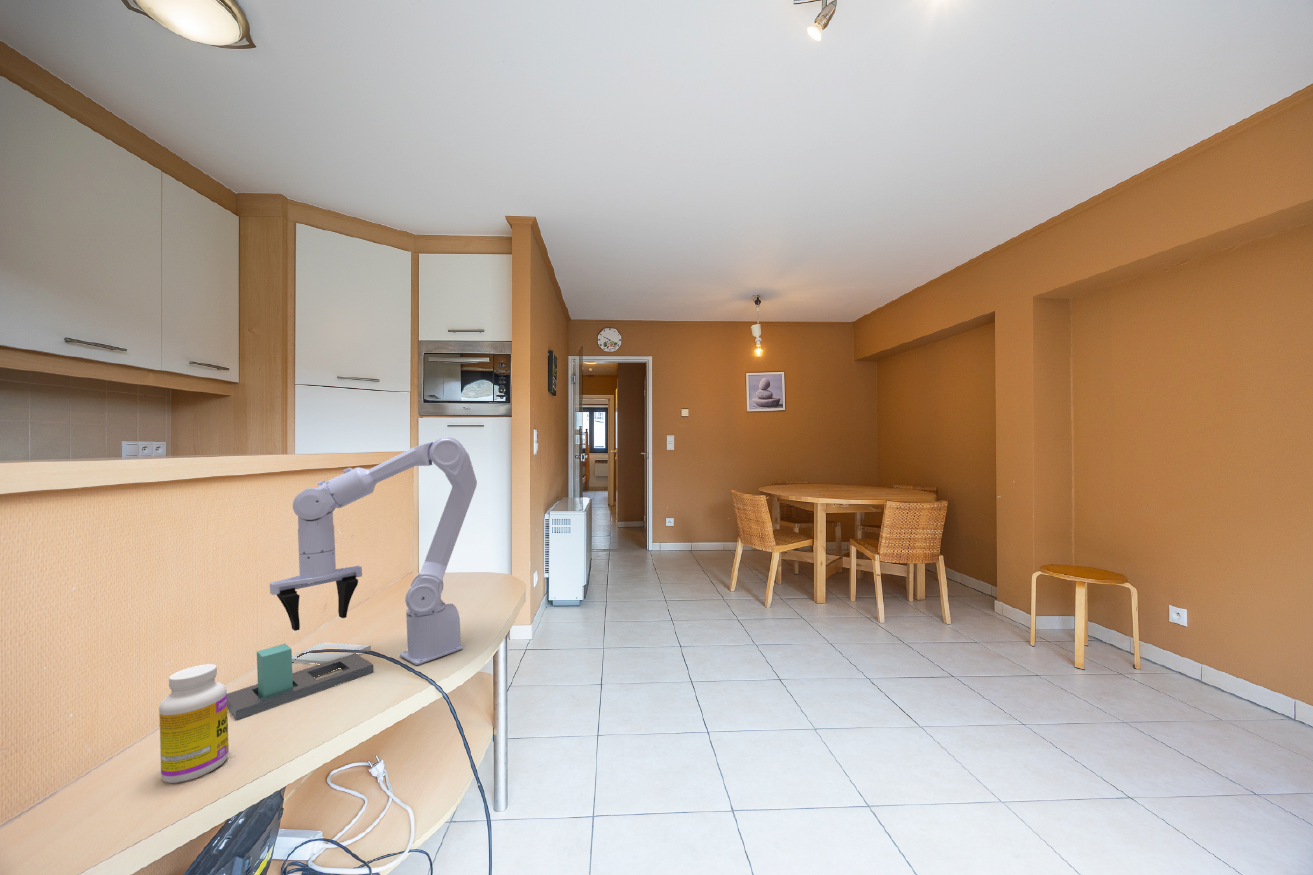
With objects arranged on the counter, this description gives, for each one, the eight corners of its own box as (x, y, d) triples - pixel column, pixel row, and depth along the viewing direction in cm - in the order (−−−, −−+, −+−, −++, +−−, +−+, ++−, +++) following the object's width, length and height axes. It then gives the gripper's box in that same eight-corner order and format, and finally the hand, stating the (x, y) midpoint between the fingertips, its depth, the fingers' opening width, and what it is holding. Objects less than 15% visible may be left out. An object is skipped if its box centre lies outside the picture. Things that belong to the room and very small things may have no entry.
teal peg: (286, 688, 89) (284, 643, 89) (293, 695, 86) (291, 648, 86) (258, 698, 86) (256, 651, 86) (264, 705, 83) (262, 656, 83)
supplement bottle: (226, 770, 66) (222, 672, 66) (155, 793, 62) (152, 688, 62) (231, 747, 71) (228, 656, 71) (167, 766, 67) (164, 670, 67)
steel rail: (355, 660, 99) (355, 653, 99) (373, 672, 94) (373, 664, 94) (224, 703, 84) (224, 694, 84) (236, 720, 78) (235, 710, 78)
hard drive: (287, 657, 100) (337, 660, 97) (324, 641, 108) (371, 644, 105) (287, 665, 100) (337, 669, 97) (324, 649, 108) (371, 651, 105)
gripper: (352, 542, 103) (354, 608, 103) (264, 556, 92) (267, 630, 92) (365, 545, 98) (367, 614, 98) (274, 560, 87) (277, 638, 87)
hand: (319, 622), depth 95 cm, fingers open, 7 cm apart
